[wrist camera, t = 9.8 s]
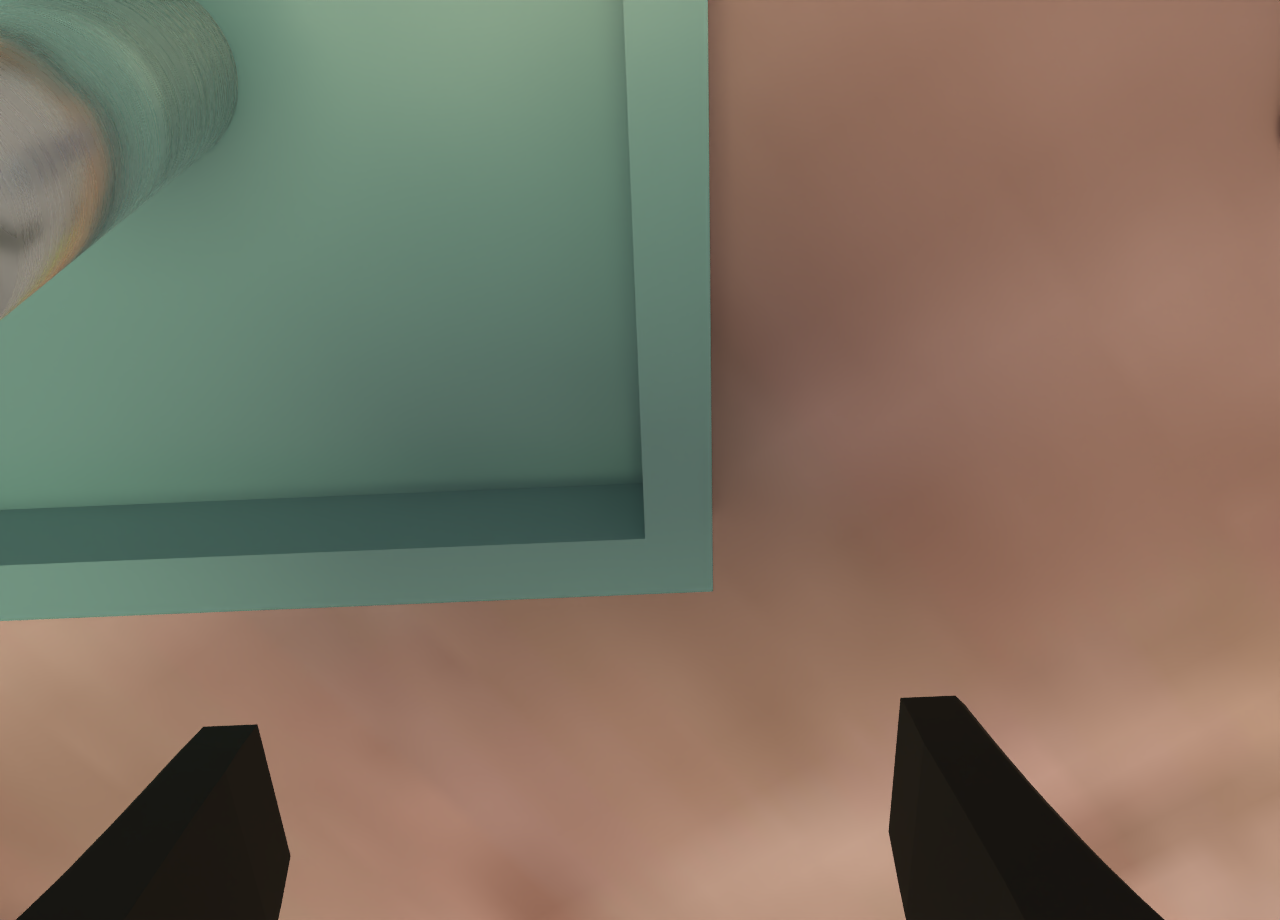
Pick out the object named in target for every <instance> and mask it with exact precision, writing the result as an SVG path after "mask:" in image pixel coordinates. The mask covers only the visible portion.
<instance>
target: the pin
mask: <svg viewBox="0 0 1280 920" xmlns="http://www.w3.org/2000/svg"><path fill="white" fill-rule="evenodd" d="M237 99H238V76H237V70H236V64H235V61H234V57H233V54H232V51H231V49H230V46H229V44H228V42H227V39H226V38H225V36H224V34H223V32H222V31H221V29H220V27H219V26H218V25H217V23H216V22H215V20H214V19H213V18H212V16H211V15H210V14H209V13H208V12H207V11H206V10H205V9H204V8H203V6H201V5H200V4H199V3H198V2H197V1H196V0H18V1H15V2H12V3H8V4H5V5H2V6H0V320H1V319H3V318H4V317H5V316H6V315H8V314H9V313H10V312H11V311H12V310H14V309H15V308H16V307H17V306H19V305H20V304H21V303H22V302H24V301H25V300H26V299H27V298H28V297H30V296H31V295H32V294H33V293H35V292H36V291H37V290H38V289H39V288H41V287H42V286H43V285H44V284H46V283H47V282H48V281H49V280H50V279H52V278H53V277H54V276H55V275H57V274H58V273H59V272H60V271H61V270H63V269H64V268H65V267H66V266H68V265H69V264H70V263H71V262H73V261H74V260H75V259H76V258H77V257H79V256H80V255H81V254H82V253H84V252H85V251H86V250H87V249H88V248H90V247H91V246H92V245H93V244H95V243H96V242H97V241H98V240H99V239H101V238H102V237H103V236H104V235H106V234H107V233H108V232H109V231H110V230H112V229H113V228H114V227H115V226H117V225H118V224H119V223H120V222H121V221H123V220H124V219H125V218H126V217H128V216H129V215H130V214H131V213H133V212H134V211H135V210H136V209H137V208H139V207H140V206H141V205H142V204H144V203H145V202H146V201H147V200H148V199H150V198H151V197H152V196H153V195H155V194H156V193H157V192H158V191H159V190H161V189H162V188H163V187H164V186H166V185H167V184H168V183H169V182H170V181H172V180H173V179H174V178H175V177H177V176H178V175H179V174H180V173H182V172H183V171H184V170H185V169H186V168H188V167H189V166H190V165H191V164H193V163H194V162H195V161H196V160H197V159H199V158H200V157H201V156H202V155H204V154H205V153H206V152H207V151H208V150H210V149H211V148H212V147H213V146H214V145H215V144H216V143H217V142H218V141H219V140H220V139H221V138H222V136H223V135H224V134H225V132H226V130H227V129H228V127H229V125H230V123H231V121H232V118H233V116H234V113H235V109H236V105H237Z"/></svg>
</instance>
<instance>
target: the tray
mask: <svg viewBox="0 0 1280 920" xmlns="http://www.w3.org/2000/svg"><path fill="white" fill-rule="evenodd" d="M15 1H18V0H0V6H2V5H5V4H8V3H12V2H15ZM196 1H197V2H198V3H199V4H200V5H201V6H203V8H204V9H205V10H206V11H207V12H208V13H209V14H210V15H211V16H212V18H213V19H214V20H215V22H216V23H217V25H218V26H219V27H220V29H221V31H222V32H223V34H224V36H225V38H226V39H227V42H228V44H229V46H230V49H231V51H232V54H233V57H234V61H235V64H236V70H237V76H238V99H237V105H236V109H235V113H234V116H233V118H232V121H231V123H230V125H229V127H228V129H227V130H226V132H225V134H224V135H223V136H222V138H221V139H220V140H219V141H218V142H217V143H216V144H215V145H214V146H213V147H212V148H211V149H210V150H208V151H207V152H206V153H205V154H204V155H202V156H201V157H200V158H199V159H197V160H196V161H195V162H194V163H193V164H191V165H190V166H189V167H188V168H186V169H185V170H184V171H183V172H182V173H180V174H179V175H178V176H177V177H175V178H174V179H173V180H172V181H170V182H169V183H168V184H167V185H166V186H164V187H163V188H162V189H161V190H159V191H158V192H157V193H156V194H155V195H153V196H152V197H151V198H150V199H148V200H147V201H146V202H145V203H144V204H142V205H141V206H140V207H139V208H137V209H136V210H135V211H134V212H133V213H131V214H130V215H129V216H128V217H126V218H125V219H124V220H123V221H121V222H120V223H119V224H118V225H117V226H115V227H114V228H113V229H112V230H110V231H109V232H108V233H107V234H106V235H104V236H103V237H102V238H101V239H99V240H98V241H97V242H96V243H95V244H93V245H92V246H91V247H90V248H88V249H87V250H86V251H85V252H84V253H82V254H81V255H80V256H79V257H77V258H76V259H75V260H74V261H73V262H71V263H70V264H69V265H68V266H66V267H65V268H64V269H63V270H61V271H60V272H59V273H58V274H57V275H55V276H54V277H53V278H52V279H50V280H49V281H48V282H47V283H46V284H44V285H43V286H42V287H41V288H39V289H38V290H37V291H36V292H35V293H33V294H32V295H31V296H30V297H28V298H27V299H26V300H25V301H24V302H22V303H21V304H20V305H19V306H17V307H16V308H15V309H14V310H12V311H11V312H10V313H9V314H8V315H6V316H5V317H4V318H3V319H1V320H0V621H10V620H34V619H58V618H82V617H106V616H131V615H155V614H179V613H203V612H227V611H251V610H275V609H300V608H324V607H348V606H372V605H396V604H420V603H444V602H469V601H493V600H517V599H541V598H565V597H589V596H613V595H638V594H662V593H686V592H710V591H713V552H712V436H711V321H710V205H709V89H708V0H196Z"/></svg>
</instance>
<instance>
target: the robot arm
mask: <svg viewBox="0 0 1280 920" xmlns="http://www.w3.org/2000/svg"><path fill="white" fill-rule="evenodd" d="M889 836H890V841H891V846H892V852H893V857H894V862H895V867H896V873H897V878H898V883H899V888H900V893H901V898H902V902H903V907H904V912H905V917H906V920H1164V919H1163V918H1162V917H1161V916H1160V915H1159V914H1158V913H1156V912H1155V911H1154V910H1153V909H1152V908H1151V907H1150V906H1149V905H1148V904H1147V903H1146V902H1145V901H1143V900H1142V899H1141V898H1140V897H1139V896H1138V895H1137V894H1136V893H1135V892H1134V891H1133V890H1132V889H1131V888H1130V887H1129V886H1128V885H1127V884H1126V883H1125V882H1124V881H1123V880H1122V879H1121V878H1120V877H1119V876H1118V875H1117V874H1115V873H1114V872H1113V871H1112V870H1111V869H1110V868H1109V867H1108V866H1107V865H1106V864H1105V863H1104V862H1103V861H1102V860H1101V859H1100V858H1099V857H1098V856H1097V855H1096V854H1095V853H1094V852H1093V850H1092V849H1091V848H1090V847H1089V846H1088V845H1087V844H1086V843H1085V842H1084V841H1083V840H1082V839H1081V838H1080V837H1079V836H1078V835H1077V834H1076V833H1075V832H1074V831H1073V829H1072V828H1071V827H1070V826H1069V825H1068V824H1067V823H1066V822H1065V821H1064V820H1063V819H1062V818H1061V817H1060V816H1059V814H1058V813H1057V812H1056V811H1055V810H1054V809H1053V808H1052V807H1051V806H1050V805H1049V804H1048V803H1047V802H1046V800H1045V799H1044V798H1043V797H1042V796H1041V795H1040V794H1039V793H1038V791H1037V790H1036V789H1035V788H1034V787H1033V786H1032V785H1031V784H1030V782H1029V781H1028V780H1027V779H1026V778H1025V777H1024V776H1023V774H1022V773H1021V772H1020V771H1019V770H1018V769H1017V767H1016V766H1015V765H1014V764H1013V763H1012V762H1011V760H1010V759H1009V758H1008V757H1007V756H1006V755H1005V753H1004V752H1003V751H1002V750H1001V749H1000V747H999V746H998V745H997V744H996V743H995V741H994V740H993V739H992V738H991V737H990V735H989V734H988V733H987V732H986V730H985V729H984V728H983V727H982V726H981V724H980V723H979V722H978V721H977V719H976V718H975V717H974V716H973V714H972V713H971V712H970V711H969V710H968V708H967V707H966V706H965V705H964V703H962V702H961V701H960V700H959V699H958V698H957V697H956V696H937V697H912V698H901V699H900V710H899V721H898V733H897V744H896V755H895V766H894V777H893V789H892V800H891V811H890V822H889ZM289 861H290V852H289V848H288V844H287V840H286V836H285V832H284V828H283V824H282V820H281V816H280V813H279V809H278V805H277V801H276V797H275V793H274V789H273V785H272V781H271V777H270V773H269V769H268V765H267V761H266V757H265V753H264V749H263V745H262V741H261V737H260V733H259V729H258V725H235V726H211V727H203V728H202V729H201V730H200V731H199V732H198V733H197V734H196V735H195V736H194V737H193V738H192V739H191V740H190V741H189V742H188V743H187V744H186V745H185V746H184V747H183V748H182V749H181V751H180V752H179V753H178V754H177V755H176V756H175V757H174V758H173V759H172V760H171V761H170V762H169V763H168V764H167V766H166V767H165V768H164V769H163V770H162V771H161V772H160V773H159V774H158V775H157V776H156V777H155V778H154V780H153V781H152V782H151V783H150V784H149V785H148V786H147V787H146V788H145V789H144V790H143V791H142V793H141V794H140V795H139V796H138V797H137V798H136V799H135V800H134V801H133V802H132V803H131V804H130V805H129V806H128V808H127V809H126V810H125V811H124V812H123V813H122V814H121V815H120V816H119V817H118V818H117V819H116V820H115V821H114V823H113V824H112V825H111V826H110V827H109V828H108V829H107V830H106V831H105V832H104V833H103V834H102V835H101V836H100V837H99V838H98V839H97V840H96V841H95V842H94V843H93V844H92V845H91V846H90V847H89V848H88V849H87V850H86V851H85V852H84V854H83V855H82V856H81V857H80V858H79V859H78V860H77V861H76V862H75V863H74V864H73V865H72V866H71V867H70V868H69V869H68V870H67V871H66V872H65V873H64V874H63V875H62V876H61V877H60V878H59V879H58V880H57V881H56V882H55V883H54V884H53V885H52V886H51V887H50V888H49V889H48V890H47V891H46V892H45V893H44V894H42V895H41V896H40V897H39V898H38V899H37V900H36V901H35V902H34V903H33V904H32V905H31V906H30V907H29V908H28V909H27V910H26V911H25V912H24V913H23V914H22V915H20V916H19V917H18V918H17V919H16V920H278V918H279V913H280V908H281V904H282V898H283V893H284V888H285V882H286V877H287V872H288V866H289Z"/></svg>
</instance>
